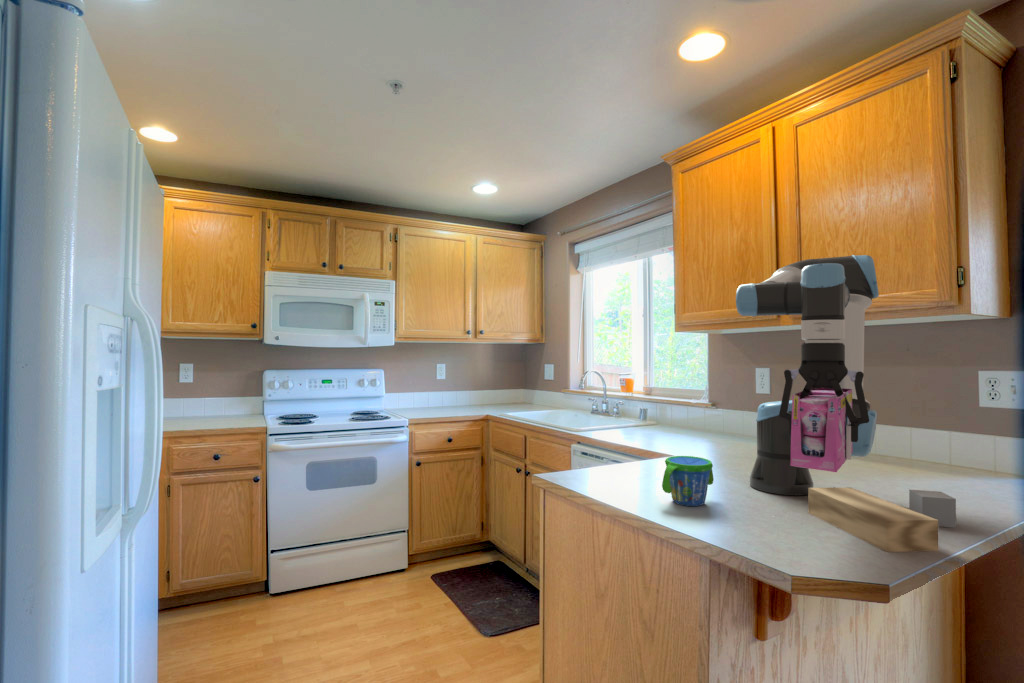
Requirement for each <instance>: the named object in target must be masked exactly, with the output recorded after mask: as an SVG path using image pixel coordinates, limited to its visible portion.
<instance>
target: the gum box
mask: <svg viewBox="0 0 1024 683" xmlns="http://www.w3.org/2000/svg"><path fill="white" fill-rule="evenodd" d="M842 390H843V392H844V394H842V395H841V396H839V397H838V396H837V395H836V393H835V391H834V389H833V388H832V389H826V388H812V389H811V391H810V393H809V395H808V396H807V397H804V398H801V393H802V391H803V390H802V391H798V392H795V393H794V394H791V395H792V396H791V397H792V399H791V400H792V425H791V463H790V466H796V467H802V468H808V469H810V470H818V471H826V472H831V473H837V472H838V471H839V470H840V469H841V468H842V466H843V465H844V464H845V463H846V462H847V460H848V459H846V425H847V424H851V423H850V421H849V419H848V417H847V415H846V403H845V397H846V398H847V400H848V402H849V404H850V406H851V408H852V389H843V388H842ZM852 452H853V447H852V442H851V454H852Z"/></svg>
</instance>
